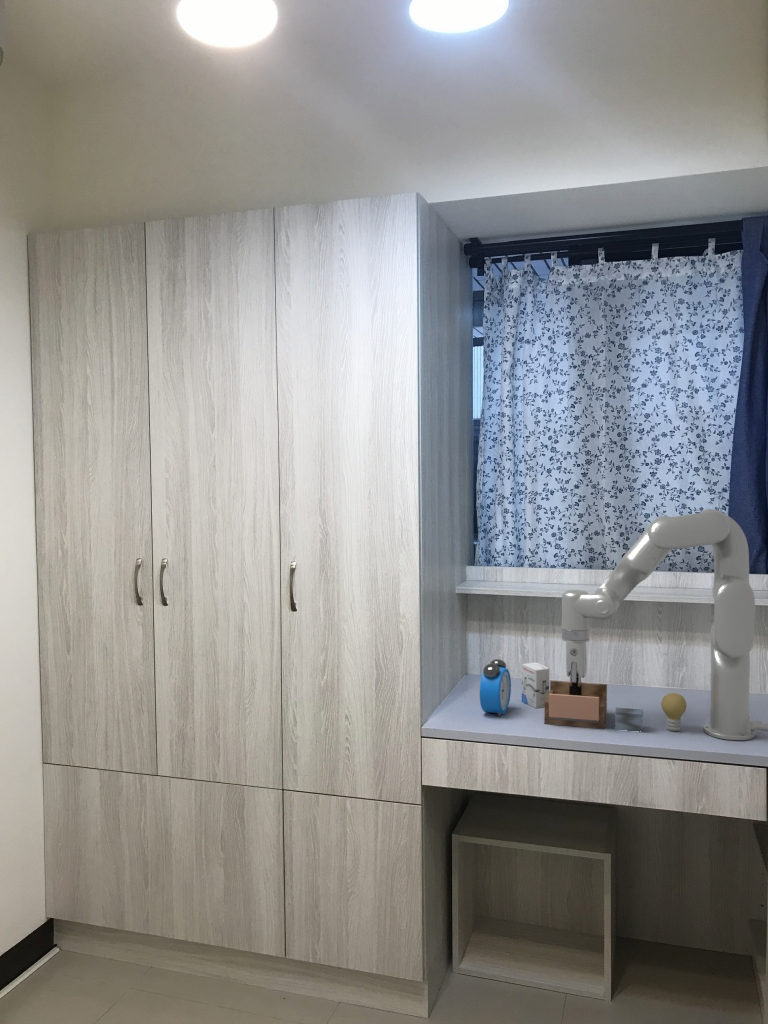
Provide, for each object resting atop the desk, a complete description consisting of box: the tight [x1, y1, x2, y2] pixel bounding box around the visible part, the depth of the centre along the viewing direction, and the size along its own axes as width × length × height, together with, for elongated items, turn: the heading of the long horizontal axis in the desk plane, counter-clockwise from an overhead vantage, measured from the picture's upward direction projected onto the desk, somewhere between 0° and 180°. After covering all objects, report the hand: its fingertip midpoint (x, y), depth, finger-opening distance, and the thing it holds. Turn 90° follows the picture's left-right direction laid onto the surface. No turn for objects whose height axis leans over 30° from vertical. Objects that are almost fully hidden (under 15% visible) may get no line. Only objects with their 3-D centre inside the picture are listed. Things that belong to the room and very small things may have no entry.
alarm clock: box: [479, 658, 512, 717], centre depth 242 cm, size 13×6×15 cm, turn 157°
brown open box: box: [543, 680, 608, 730], centre depth 235 cm, size 16×15×8 cm
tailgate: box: [549, 694, 599, 723], centre depth 227 cm, size 13×1×7 cm, turn 72°
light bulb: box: [660, 692, 687, 732], centre depth 224 cm, size 6×6×10 cm
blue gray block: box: [614, 707, 644, 733], centre depth 226 cm, size 7×5×5 cm, turn 72°
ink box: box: [521, 662, 550, 709], centre depth 250 cm, size 9×5×12 cm, turn 21°
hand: (575, 699), depth 233 cm, fingers closed
